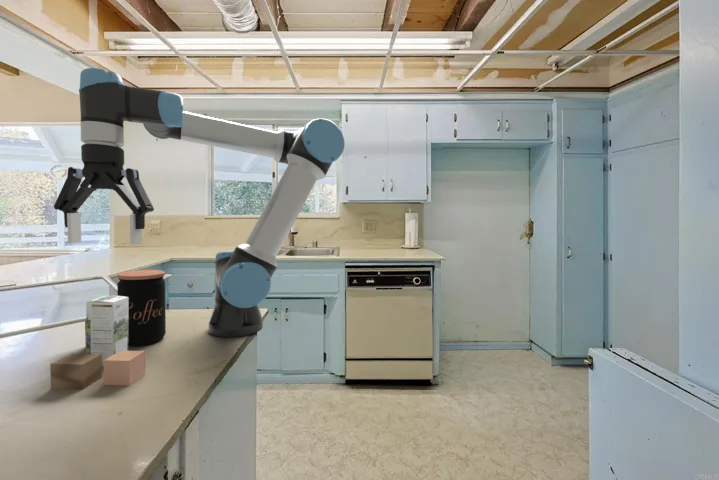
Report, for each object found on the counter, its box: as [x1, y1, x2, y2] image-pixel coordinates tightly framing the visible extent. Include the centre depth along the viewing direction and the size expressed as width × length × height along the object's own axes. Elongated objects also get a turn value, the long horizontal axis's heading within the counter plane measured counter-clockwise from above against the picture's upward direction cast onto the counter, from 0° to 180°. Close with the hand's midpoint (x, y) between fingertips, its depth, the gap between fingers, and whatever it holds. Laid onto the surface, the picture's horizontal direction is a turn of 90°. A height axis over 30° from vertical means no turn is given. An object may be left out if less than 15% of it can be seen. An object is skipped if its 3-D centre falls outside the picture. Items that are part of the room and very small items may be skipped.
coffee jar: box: [116, 269, 167, 348], centre depth 92 cm, size 11×11×18 cm
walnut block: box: [49, 353, 103, 391], centre depth 68 cm, size 6×5×5 cm
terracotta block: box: [103, 350, 146, 386], centre depth 70 cm, size 5×5×5 cm
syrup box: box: [85, 295, 129, 368], centre depth 78 cm, size 6×6×14 cm
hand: (105, 243), depth 77 cm, fingers open, 13 cm apart
